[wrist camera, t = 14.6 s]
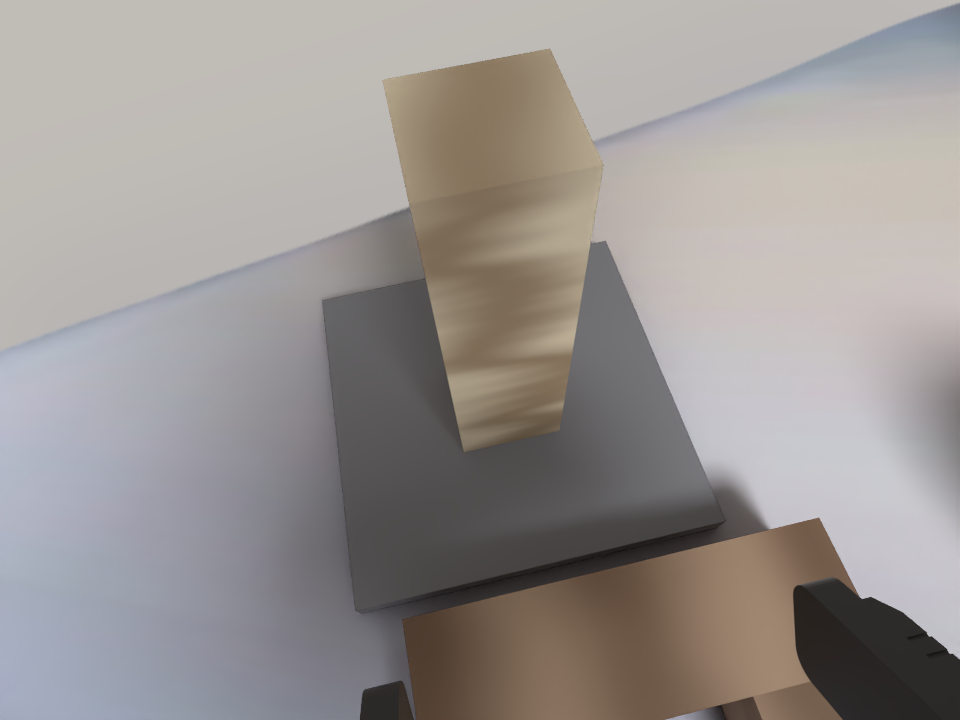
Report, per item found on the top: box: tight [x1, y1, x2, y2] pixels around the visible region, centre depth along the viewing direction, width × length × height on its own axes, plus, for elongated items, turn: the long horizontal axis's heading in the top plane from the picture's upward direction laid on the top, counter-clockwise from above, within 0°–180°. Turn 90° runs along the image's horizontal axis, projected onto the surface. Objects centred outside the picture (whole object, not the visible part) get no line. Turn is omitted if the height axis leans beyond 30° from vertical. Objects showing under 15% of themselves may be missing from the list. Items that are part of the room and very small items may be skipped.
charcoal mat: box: [322, 241, 725, 614], centre depth 25 cm, size 14×14×1 cm
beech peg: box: [383, 49, 603, 452], centre depth 19 cm, size 4×4×14 cm
